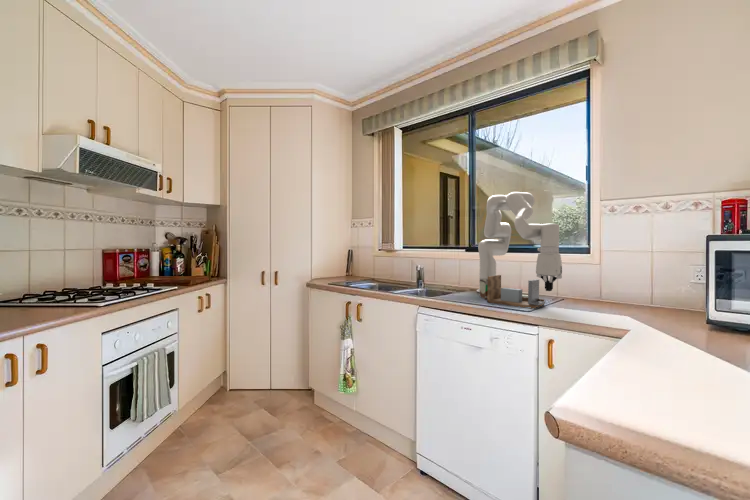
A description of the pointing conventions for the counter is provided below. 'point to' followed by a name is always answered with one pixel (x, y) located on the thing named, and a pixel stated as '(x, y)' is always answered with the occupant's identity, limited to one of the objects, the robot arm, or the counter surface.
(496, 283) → the rack
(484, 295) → the food container
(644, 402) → the counter surface
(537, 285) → the bookend
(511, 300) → the grey rectangular block
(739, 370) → the counter surface
